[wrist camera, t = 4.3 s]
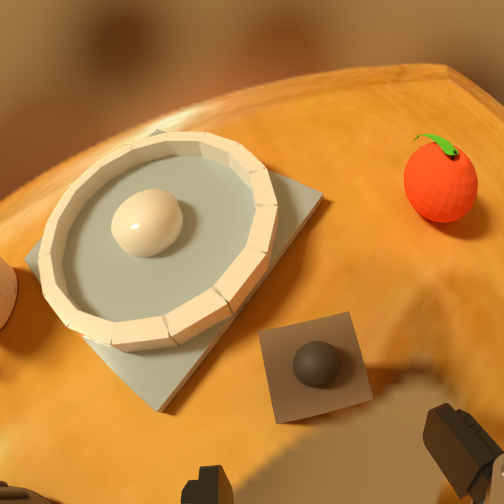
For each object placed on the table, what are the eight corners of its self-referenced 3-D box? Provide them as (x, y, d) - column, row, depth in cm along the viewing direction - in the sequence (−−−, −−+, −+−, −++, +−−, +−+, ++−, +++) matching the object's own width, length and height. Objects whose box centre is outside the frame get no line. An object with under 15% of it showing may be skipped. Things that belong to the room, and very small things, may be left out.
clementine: (374, 182, 27) (390, 121, 21) (424, 168, 27) (444, 114, 21) (423, 249, 23) (457, 191, 17) (471, 225, 23) (504, 173, 17)
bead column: (268, 374, 19) (255, 320, 10) (319, 362, 19) (355, 298, 10) (278, 423, 17) (275, 424, 8) (330, 411, 17) (384, 395, 8)
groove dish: (159, 135, 34) (152, 116, 31) (322, 201, 26) (325, 176, 23) (29, 264, 25) (12, 248, 23) (162, 412, 18) (143, 409, 15)
